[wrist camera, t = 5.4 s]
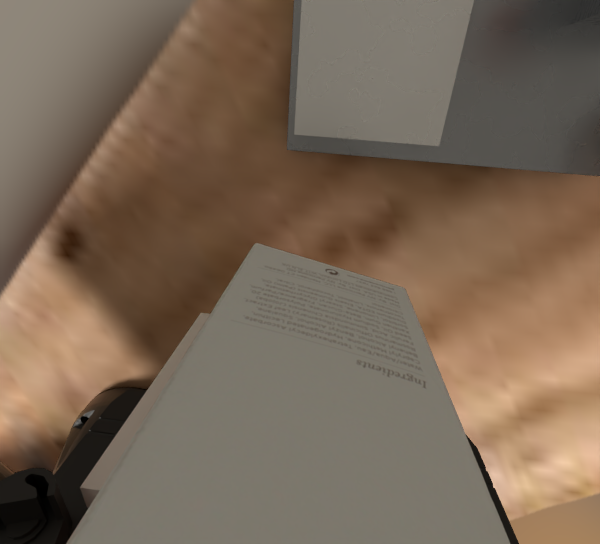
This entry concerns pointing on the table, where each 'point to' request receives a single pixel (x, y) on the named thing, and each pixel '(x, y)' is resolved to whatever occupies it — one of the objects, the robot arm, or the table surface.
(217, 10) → the table surface
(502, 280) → the table surface
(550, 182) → the table surface
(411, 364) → the small box
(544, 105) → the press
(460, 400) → the table surface
